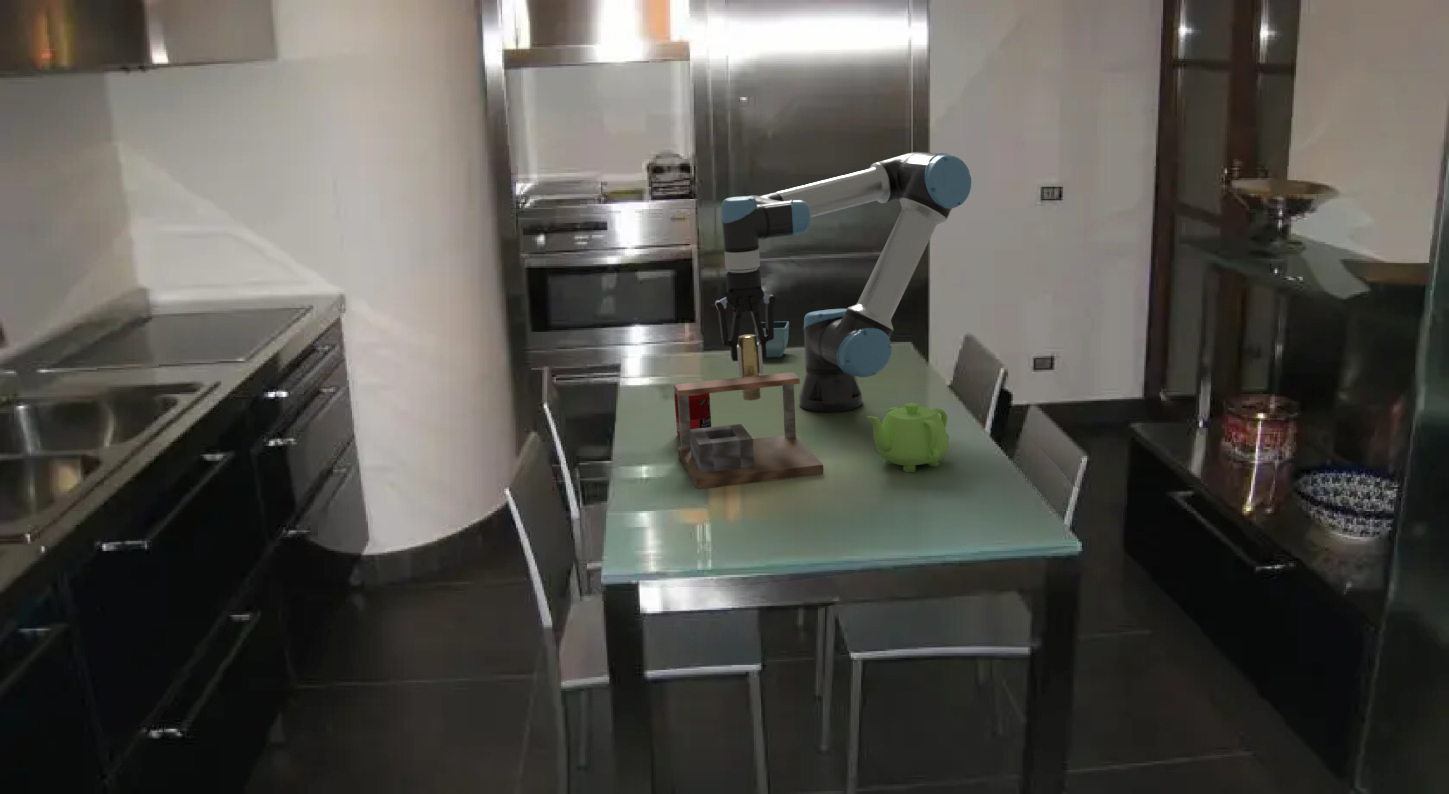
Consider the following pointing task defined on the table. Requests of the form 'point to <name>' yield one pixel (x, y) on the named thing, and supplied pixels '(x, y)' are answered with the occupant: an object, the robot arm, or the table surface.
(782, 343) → the flower pot
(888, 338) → the robot arm
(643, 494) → the table surface
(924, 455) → the teapot
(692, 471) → the station
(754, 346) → the peg
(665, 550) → the table surface
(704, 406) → the canned food
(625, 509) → the table surface
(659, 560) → the table surface
